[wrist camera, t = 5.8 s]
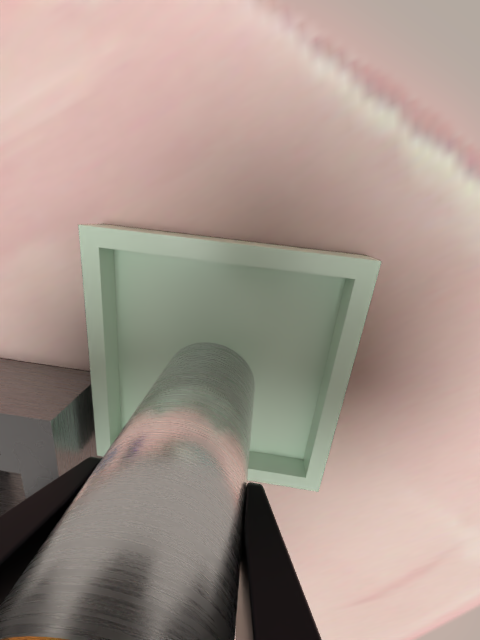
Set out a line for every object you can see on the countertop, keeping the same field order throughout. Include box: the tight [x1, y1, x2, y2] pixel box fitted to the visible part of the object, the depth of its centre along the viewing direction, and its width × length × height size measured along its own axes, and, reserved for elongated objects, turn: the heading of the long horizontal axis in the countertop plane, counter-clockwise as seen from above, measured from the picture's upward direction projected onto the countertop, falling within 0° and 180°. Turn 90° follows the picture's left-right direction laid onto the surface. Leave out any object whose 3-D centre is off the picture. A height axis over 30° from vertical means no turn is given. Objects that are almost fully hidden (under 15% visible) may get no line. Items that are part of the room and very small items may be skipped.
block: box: [0, 358, 103, 516], centre depth 16 cm, size 12×9×4 cm
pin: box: [0, 342, 255, 640], centre depth 8 cm, size 4×4×10 cm
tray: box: [78, 224, 382, 492], centre depth 14 cm, size 12×12×2 cm
